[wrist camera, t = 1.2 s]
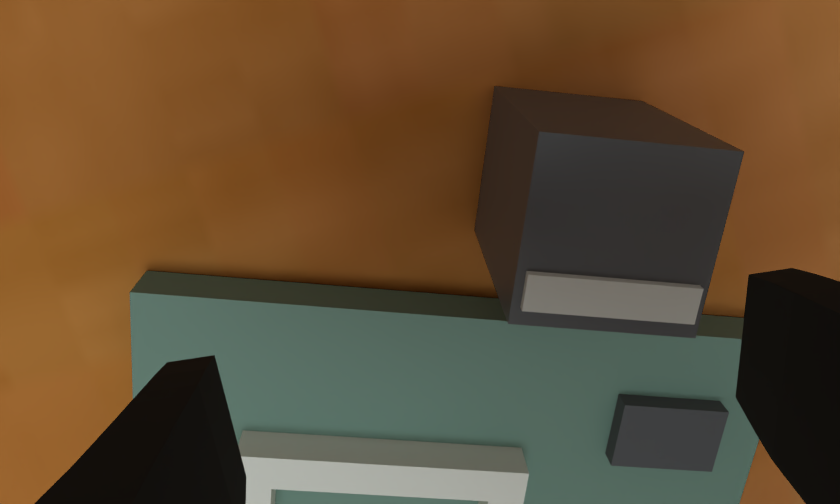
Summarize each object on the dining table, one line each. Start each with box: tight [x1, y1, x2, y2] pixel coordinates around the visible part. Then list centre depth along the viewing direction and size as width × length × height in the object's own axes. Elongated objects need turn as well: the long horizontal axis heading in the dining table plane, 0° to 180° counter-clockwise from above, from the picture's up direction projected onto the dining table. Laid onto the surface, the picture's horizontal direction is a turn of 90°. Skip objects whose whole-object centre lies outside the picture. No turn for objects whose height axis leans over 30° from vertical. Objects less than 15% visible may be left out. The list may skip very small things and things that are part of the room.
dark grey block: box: [475, 86, 744, 338], centre depth 18 cm, size 4×4×6 cm
